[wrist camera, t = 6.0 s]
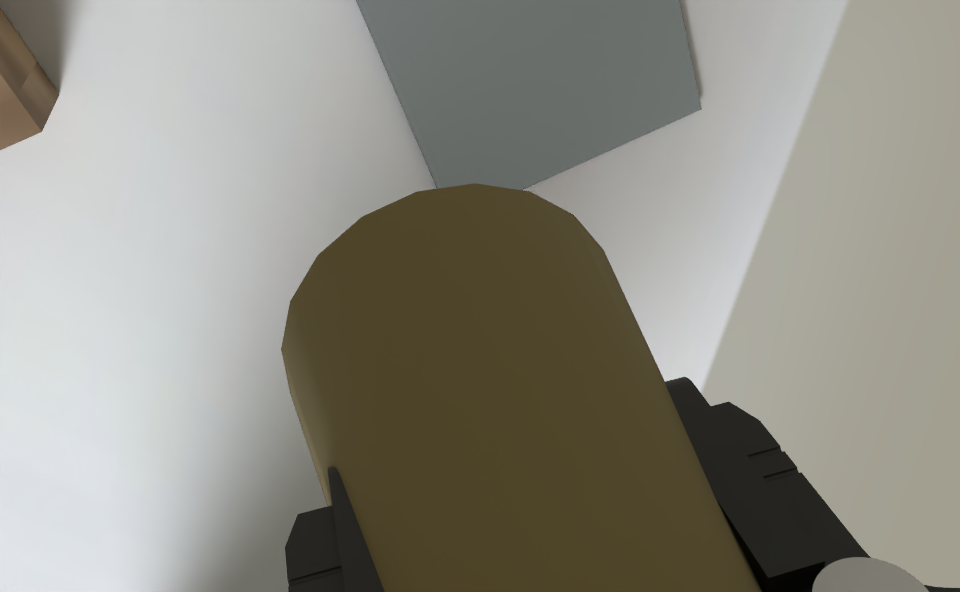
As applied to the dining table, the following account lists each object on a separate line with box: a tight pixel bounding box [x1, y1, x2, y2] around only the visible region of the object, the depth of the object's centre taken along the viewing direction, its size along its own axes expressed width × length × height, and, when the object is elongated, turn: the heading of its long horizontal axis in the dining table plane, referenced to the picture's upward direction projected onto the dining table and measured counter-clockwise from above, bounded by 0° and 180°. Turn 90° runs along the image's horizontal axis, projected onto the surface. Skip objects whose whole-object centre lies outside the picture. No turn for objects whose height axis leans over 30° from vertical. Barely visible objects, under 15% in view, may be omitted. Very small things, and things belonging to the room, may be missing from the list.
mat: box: [356, 0, 702, 190], centre depth 32 cm, size 11×11×1 cm
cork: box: [281, 183, 762, 592], centre depth 11 cm, size 6×6×11 cm
